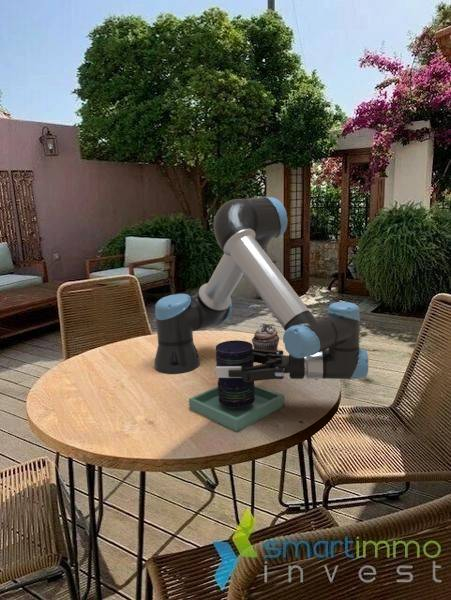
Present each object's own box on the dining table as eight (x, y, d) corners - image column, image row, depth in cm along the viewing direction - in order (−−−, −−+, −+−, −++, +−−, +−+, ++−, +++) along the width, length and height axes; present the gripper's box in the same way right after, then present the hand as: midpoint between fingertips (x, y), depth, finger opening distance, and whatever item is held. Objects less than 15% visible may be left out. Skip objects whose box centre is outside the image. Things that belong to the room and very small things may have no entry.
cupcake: (254, 347, 169) (253, 321, 166) (280, 347, 167) (280, 321, 164) (250, 356, 160) (249, 329, 157) (278, 357, 158) (277, 329, 155)
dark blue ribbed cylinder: (230, 389, 129) (227, 338, 126) (261, 395, 124) (259, 342, 121) (211, 403, 121) (207, 349, 117) (244, 411, 116) (241, 355, 112)
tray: (189, 409, 123) (188, 398, 123) (236, 387, 135) (236, 377, 135) (237, 431, 111) (236, 420, 110) (284, 405, 123) (284, 395, 122)
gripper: (307, 396, 108) (213, 396, 111) (303, 361, 129) (224, 362, 132) (306, 366, 106) (211, 366, 109) (302, 336, 128) (223, 337, 131)
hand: (218, 364), depth 121 cm, fingers closed on dark blue ribbed cylinder, 10 cm apart
